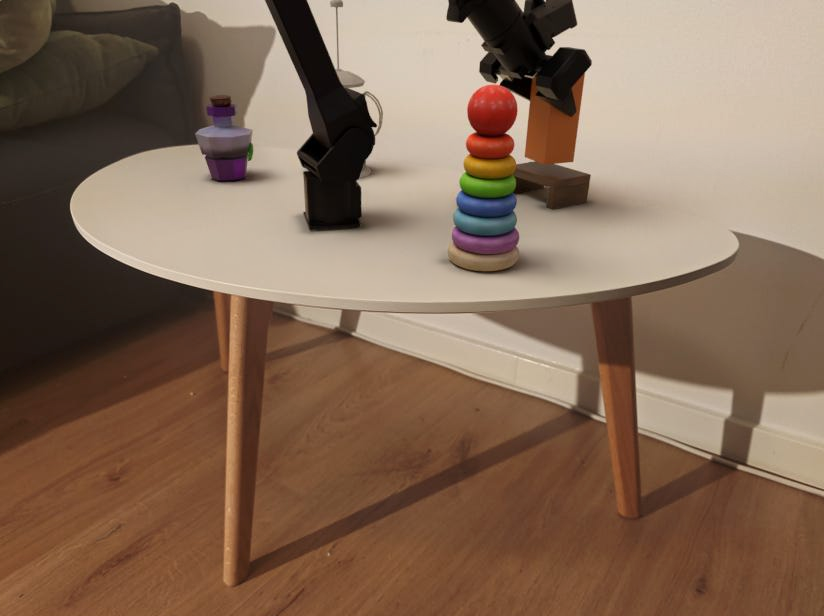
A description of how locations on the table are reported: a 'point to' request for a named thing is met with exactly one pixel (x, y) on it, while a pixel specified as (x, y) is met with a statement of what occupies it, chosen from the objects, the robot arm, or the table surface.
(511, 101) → the stacking toy
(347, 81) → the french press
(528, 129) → the orange box
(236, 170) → the potion bottle
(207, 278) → the table surface
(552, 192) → the walnut shelf
